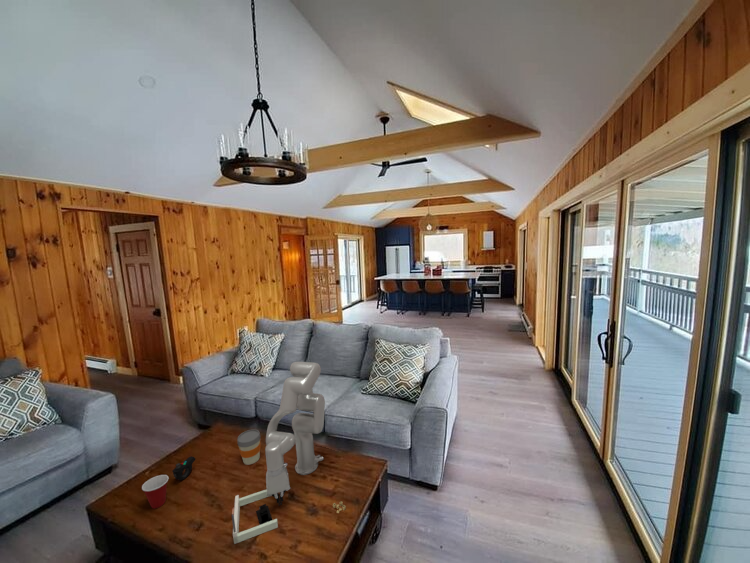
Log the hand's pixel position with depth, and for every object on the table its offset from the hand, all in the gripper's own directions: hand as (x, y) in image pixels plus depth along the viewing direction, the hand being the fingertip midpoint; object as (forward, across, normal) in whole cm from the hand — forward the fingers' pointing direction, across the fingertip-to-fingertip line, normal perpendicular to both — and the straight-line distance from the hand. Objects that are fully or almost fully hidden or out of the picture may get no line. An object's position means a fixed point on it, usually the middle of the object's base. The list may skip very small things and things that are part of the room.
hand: (280, 502), depth 144 cm
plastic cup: (+2, +57, -27) cm, 63 cm away
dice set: (+3, -26, +12) cm, 29 cm away
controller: (+2, +48, -43) cm, 64 cm away
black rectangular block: (+3, +8, +2) cm, 8 cm away
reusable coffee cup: (+2, +14, -41) cm, 44 cm away
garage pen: (+2, +11, +1) cm, 11 cm away
